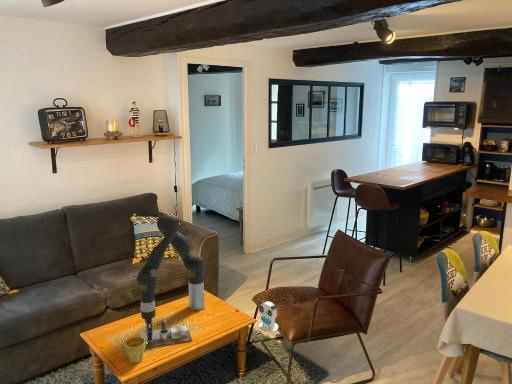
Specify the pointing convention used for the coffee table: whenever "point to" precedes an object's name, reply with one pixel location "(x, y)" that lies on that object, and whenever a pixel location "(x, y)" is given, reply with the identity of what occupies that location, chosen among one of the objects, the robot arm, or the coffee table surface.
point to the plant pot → (135, 349)
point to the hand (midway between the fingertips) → (149, 335)
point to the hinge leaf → (156, 336)
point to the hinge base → (174, 341)
